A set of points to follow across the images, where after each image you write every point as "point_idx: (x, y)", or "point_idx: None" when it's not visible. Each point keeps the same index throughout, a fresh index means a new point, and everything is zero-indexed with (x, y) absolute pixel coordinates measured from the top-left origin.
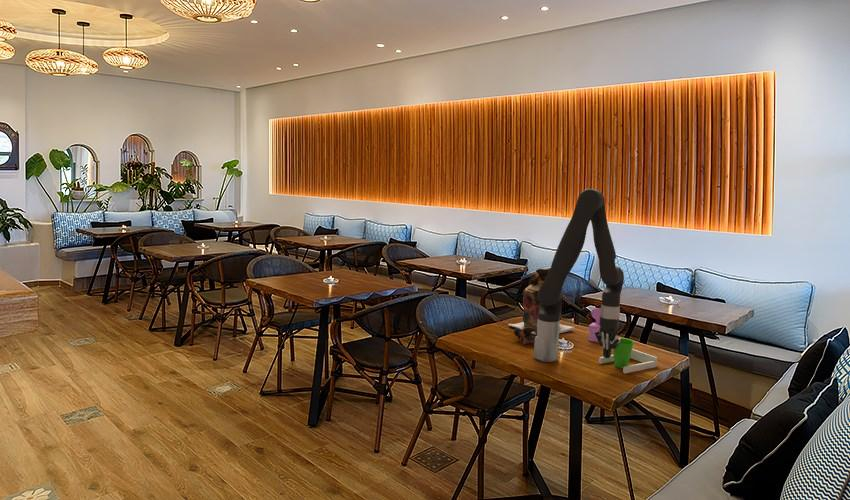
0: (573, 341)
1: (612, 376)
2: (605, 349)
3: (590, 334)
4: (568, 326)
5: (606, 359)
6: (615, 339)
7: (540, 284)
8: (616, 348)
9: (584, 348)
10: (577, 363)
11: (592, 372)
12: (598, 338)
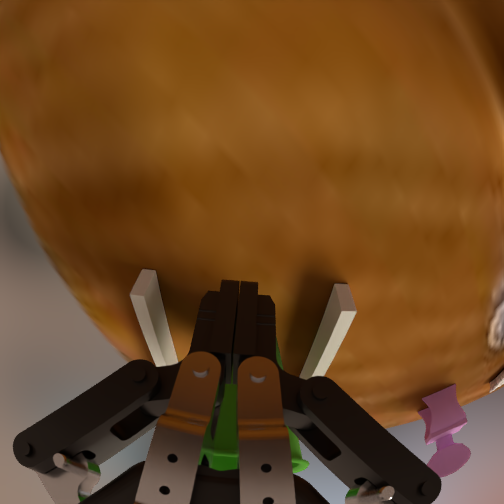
0: (489, 353)
1: (121, 166)
2: (228, 350)
3: (455, 402)
4: (500, 385)
5: (325, 330)
6: (70, 474)
7: None
8: (227, 409)
9: (457, 348)
10: (435, 172)
11: (248, 93)
12: (371, 452)
